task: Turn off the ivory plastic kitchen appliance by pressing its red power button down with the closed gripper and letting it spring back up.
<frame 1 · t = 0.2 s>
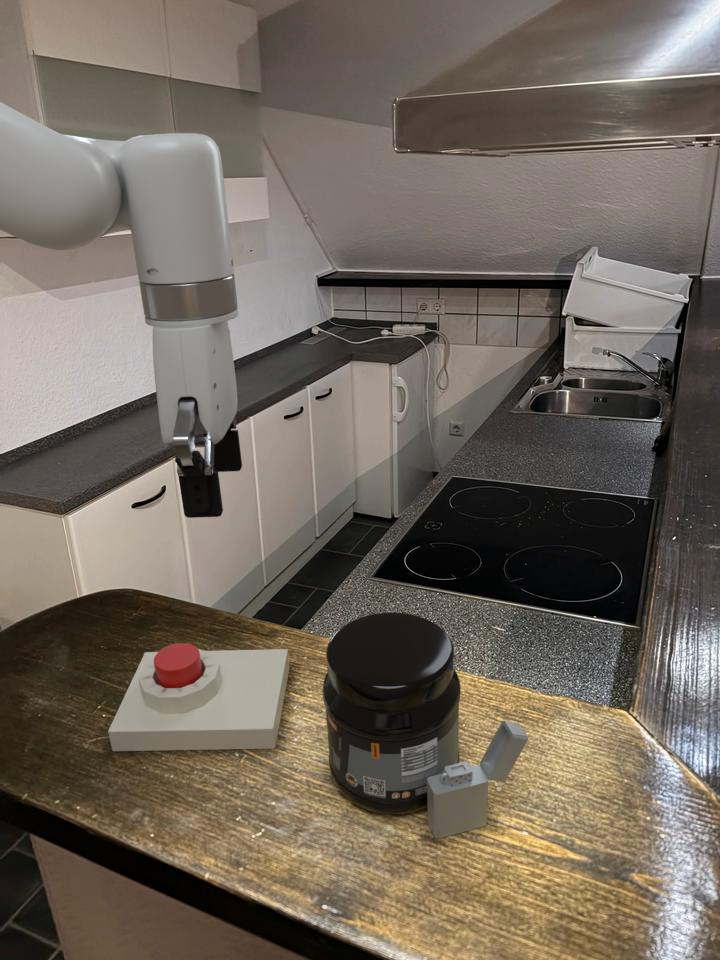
hand: (215, 491, 69), 18 cm above the countertop, tool pointing down, fingers open, 9 cm apart
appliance: (207, 706, 70), on the countertop
supplement container: (394, 771, 62), on the countertop
power button: (178, 665, 68), point 5 cm above the countertop, slide at 0.1 cm
lighter: (475, 820, 57), on the countertop
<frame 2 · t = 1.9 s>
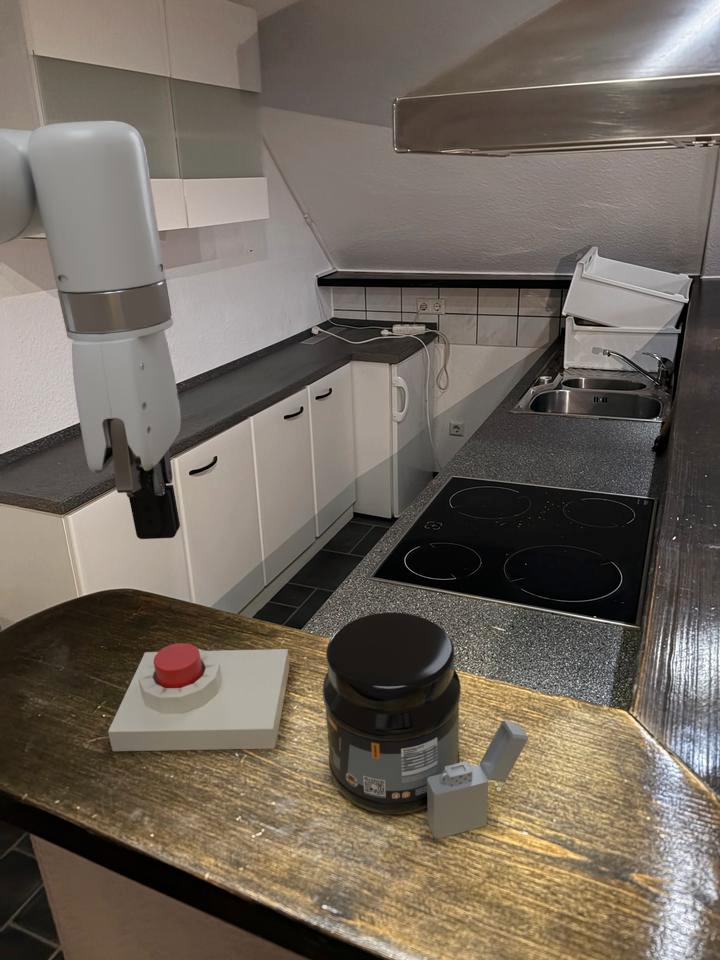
hand: (159, 533, 63), 18 cm above the countertop, tool pointing down, fingers closed
nothing on the countertop moved.
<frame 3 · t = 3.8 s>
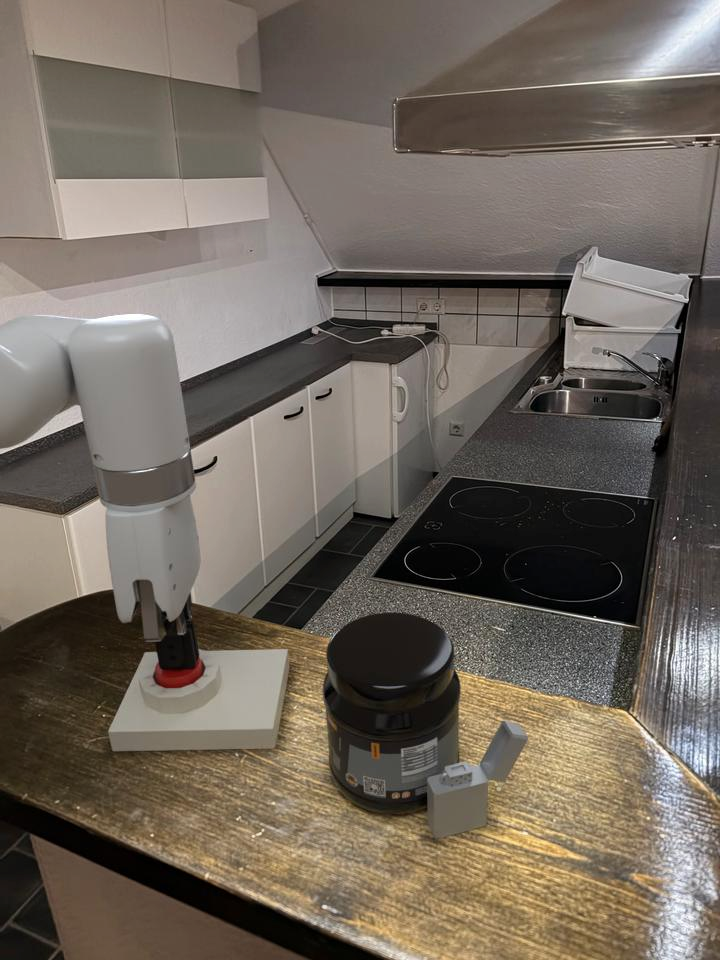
hand: (180, 663, 68), 5 cm above the countertop, tool pointing down, fingers closed
power button: (179, 673, 68), point 4 cm above the countertop, slide at -0.8 cm, touching gripper
everything else where it was.
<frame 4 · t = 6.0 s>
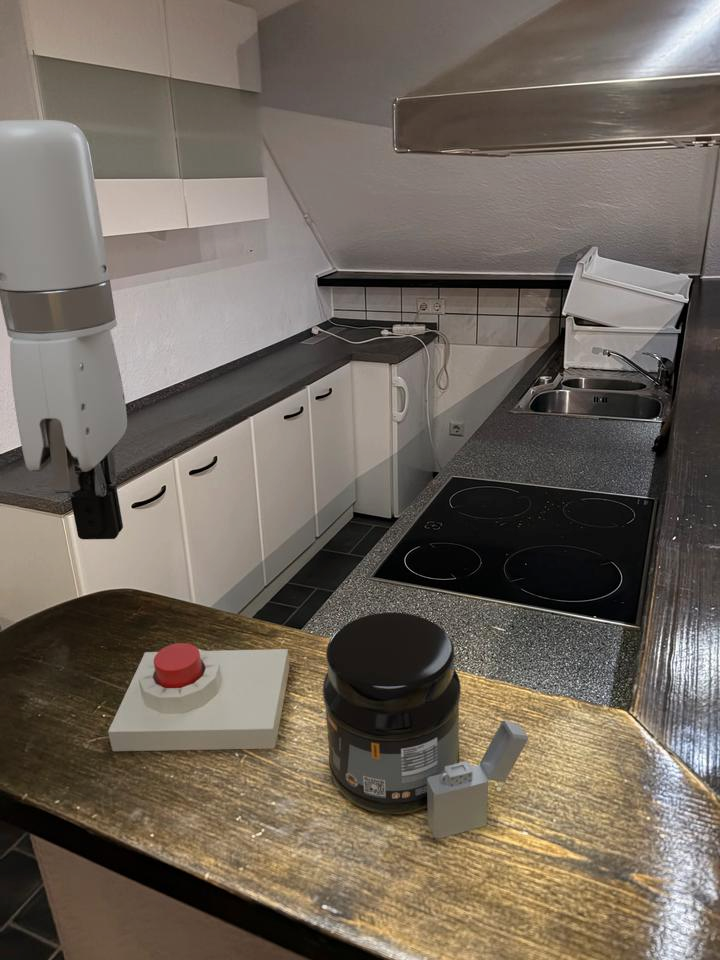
hand: (101, 534, 62), 18 cm above the countertop, tool pointing down, fingers closed
power button: (178, 665, 68), point 5 cm above the countertop, slide at 0.1 cm
everything else where it was.
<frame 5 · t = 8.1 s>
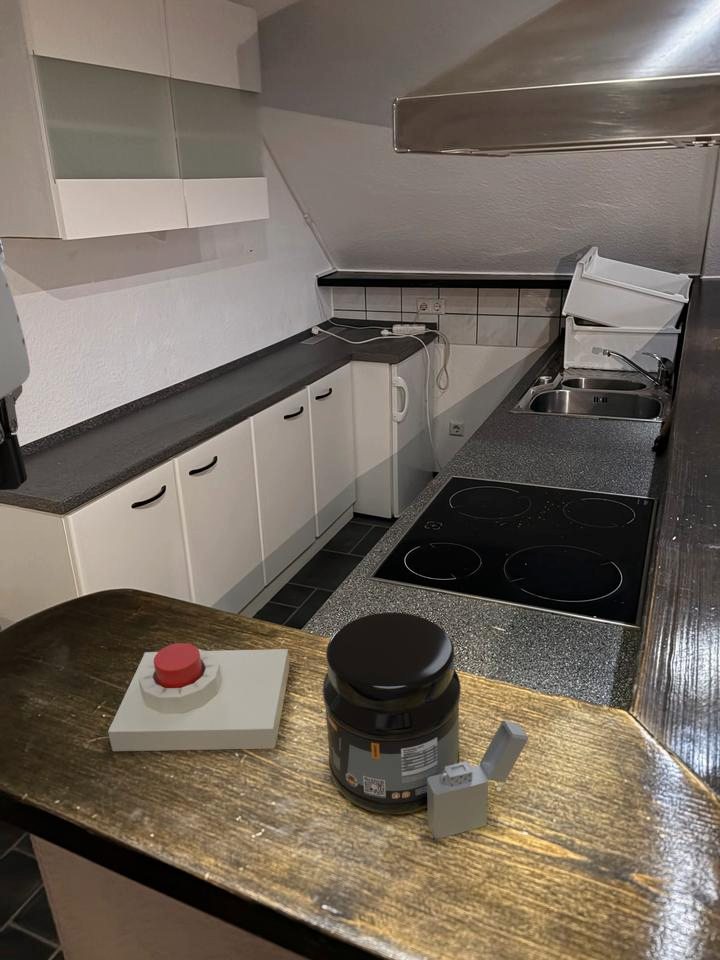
hand: (3, 485, 60), 23 cm above the countertop, tool pointing down, fingers closed
nothing on the countertop moved.
at the end: power button pushed in 1.1 cm at the most during the clip, back to where it started at the end; power button slide at 0.1 cm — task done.
